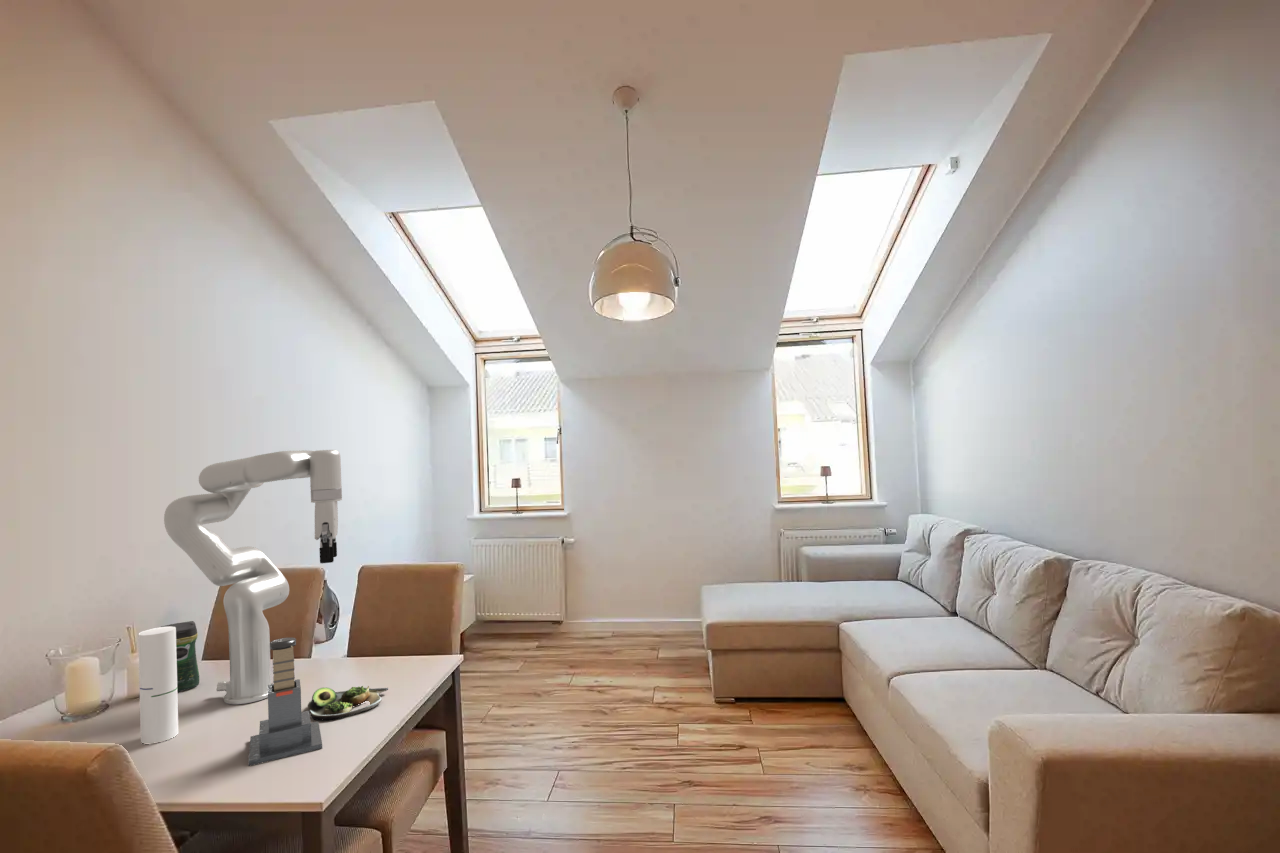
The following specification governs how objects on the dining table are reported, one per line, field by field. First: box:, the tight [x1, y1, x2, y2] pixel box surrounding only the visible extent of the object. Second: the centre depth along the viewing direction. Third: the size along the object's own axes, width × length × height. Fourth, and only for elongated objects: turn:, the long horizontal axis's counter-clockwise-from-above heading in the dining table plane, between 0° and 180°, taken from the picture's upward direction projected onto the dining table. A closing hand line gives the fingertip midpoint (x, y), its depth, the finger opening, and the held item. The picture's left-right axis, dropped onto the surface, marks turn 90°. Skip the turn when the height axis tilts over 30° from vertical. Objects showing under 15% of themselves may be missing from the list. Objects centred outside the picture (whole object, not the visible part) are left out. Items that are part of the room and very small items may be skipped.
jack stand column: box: [270, 637, 297, 692], centre depth 147 cm, size 5×5×22 cm
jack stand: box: [248, 679, 323, 767], centre depth 147 cm, size 14×14×13 cm
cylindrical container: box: [137, 626, 179, 744], centre depth 153 cm, size 7×7×25 cm
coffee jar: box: [160, 620, 200, 693], centre depth 185 cm, size 10×8×19 cm
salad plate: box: [307, 685, 389, 722], centre depth 169 cm, size 19×18×5 cm
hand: (328, 559), depth 174 cm, fingers open, 9 cm apart
